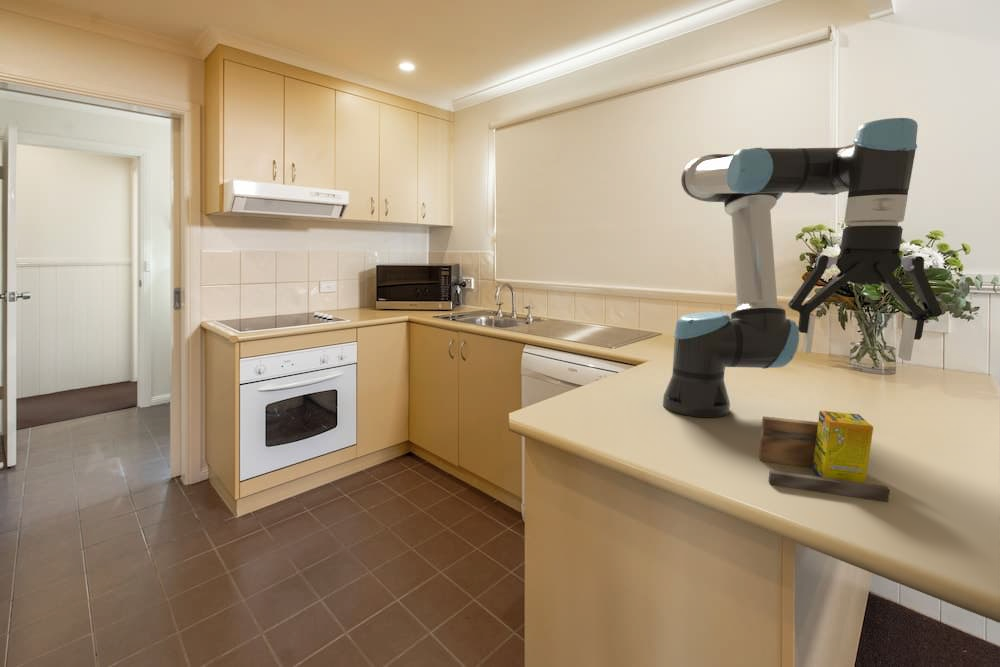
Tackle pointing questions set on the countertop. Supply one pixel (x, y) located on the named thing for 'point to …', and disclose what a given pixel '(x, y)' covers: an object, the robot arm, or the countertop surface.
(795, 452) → the wooden rack
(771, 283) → the robot arm
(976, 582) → the countertop surface
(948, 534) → the countertop surface
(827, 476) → the supplement box
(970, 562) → the countertop surface
